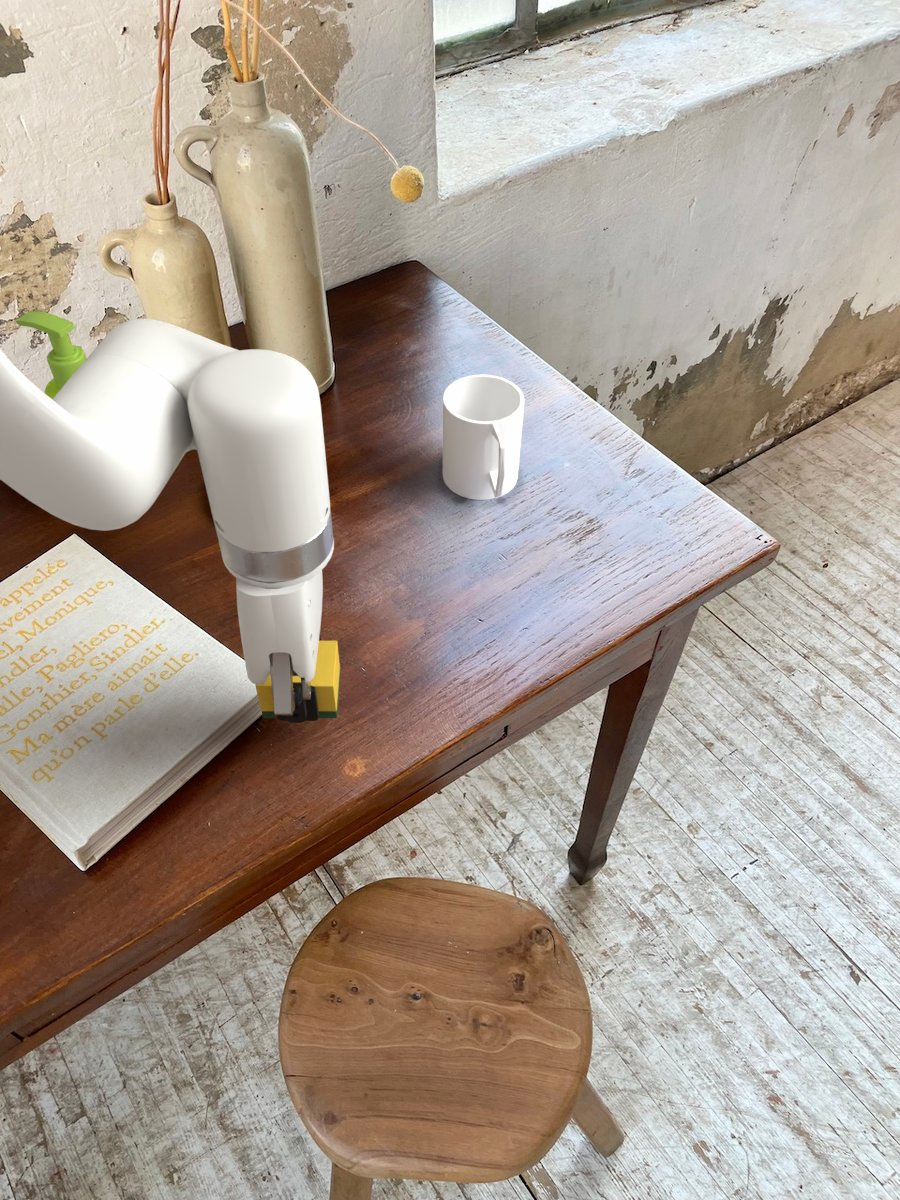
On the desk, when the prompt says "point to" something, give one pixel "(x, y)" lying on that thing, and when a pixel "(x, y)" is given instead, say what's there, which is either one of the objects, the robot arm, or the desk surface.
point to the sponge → (312, 683)
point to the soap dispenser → (56, 347)
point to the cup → (482, 436)
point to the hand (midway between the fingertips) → (301, 689)
